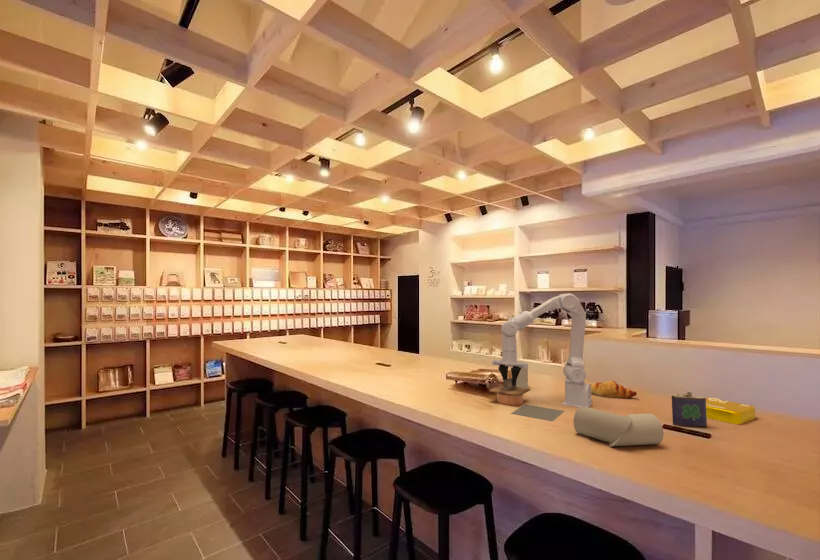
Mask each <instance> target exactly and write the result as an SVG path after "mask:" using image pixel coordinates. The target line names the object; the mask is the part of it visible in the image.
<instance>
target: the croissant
mask: <svg viewBox="0 0 820 560" xmlns="http://www.w3.org/2000/svg"><path fill="white" fill-rule="evenodd" d="M589 384H590V383H589ZM590 385H591V395H595V396H597V397H598V396H599V397H605V398H613V399H614V398H615V399H618V398H619V399H629V398H633V397H637V391H635V390H632V389H630V388H627V387H624V386H623V385H622V384H617V382H616V381H614V380H612V379H610V380H606V381H605V382H599V381H598V382H595V383H591V384H590Z"/></svg>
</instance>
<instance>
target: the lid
mask: <svg viewBox="0 0 820 560" xmlns="http://www.w3.org/2000/svg"><path fill="white" fill-rule="evenodd" d="M502 381H503V384H500V385H498V386H495V387H493V388H491V389H489V390H488V392H490V393H495V394H497V393H501V394H508V395H514V396H520V395H522V394H523V395H525V394H526V393H528V392H530V391H531V388H521V387H516V385H514V386H513V385H512V378H511V377H508V379H505V380H503V379H502Z"/></svg>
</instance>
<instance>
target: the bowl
mask: <svg viewBox="0 0 820 560" xmlns="http://www.w3.org/2000/svg"><path fill="white" fill-rule="evenodd" d="M496 400H497V403H499V404H502V405H508V406H519V405H523V403H524V394H522V395H520V396H514V395H508V394H501V393H496Z"/></svg>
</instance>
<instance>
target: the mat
mask: <svg viewBox="0 0 820 560" xmlns="http://www.w3.org/2000/svg"><path fill="white" fill-rule="evenodd" d="M564 412H565V410H561V409H554V408H549V407H542V406H537V405H531V404H523V405H522V406H520V407H519V408H517V409H516V410H514V411H512V412H510V414H511V415H516V416H521V417H526V418H533V419H537V420H542V421H547V422H554V421H555V420H556V419H557V418H559V417H560V416H561V415H562V414H564Z"/></svg>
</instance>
